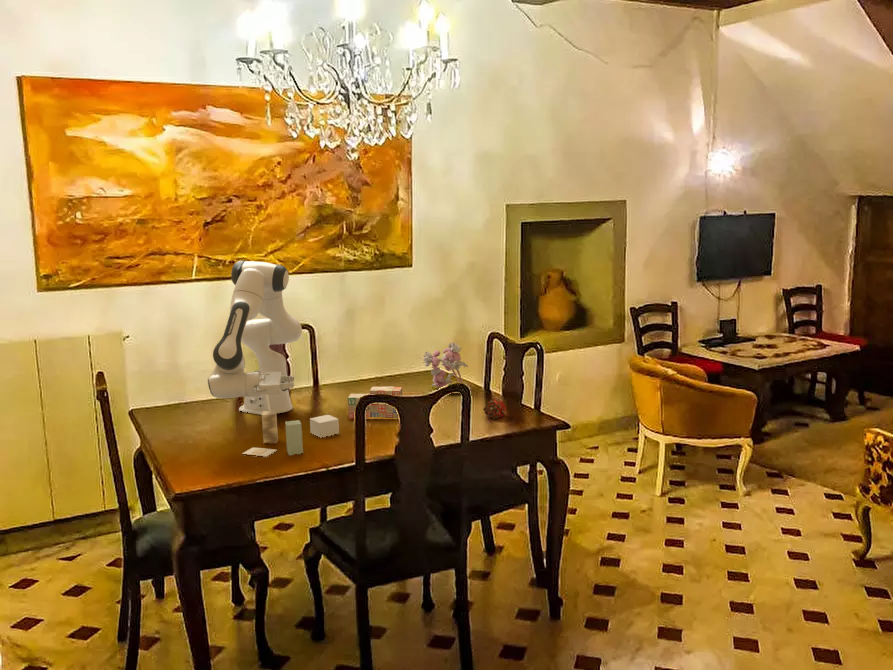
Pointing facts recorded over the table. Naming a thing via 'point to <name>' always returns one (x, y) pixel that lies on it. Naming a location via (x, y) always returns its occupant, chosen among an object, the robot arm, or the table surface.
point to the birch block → (269, 427)
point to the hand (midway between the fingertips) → (294, 381)
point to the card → (260, 452)
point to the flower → (445, 364)
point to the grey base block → (324, 426)
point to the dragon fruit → (495, 408)
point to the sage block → (294, 437)
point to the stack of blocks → (375, 409)
